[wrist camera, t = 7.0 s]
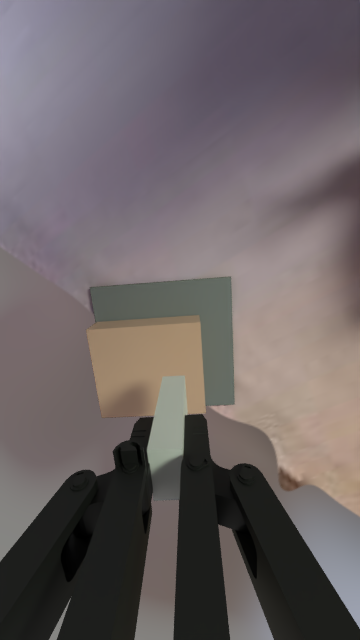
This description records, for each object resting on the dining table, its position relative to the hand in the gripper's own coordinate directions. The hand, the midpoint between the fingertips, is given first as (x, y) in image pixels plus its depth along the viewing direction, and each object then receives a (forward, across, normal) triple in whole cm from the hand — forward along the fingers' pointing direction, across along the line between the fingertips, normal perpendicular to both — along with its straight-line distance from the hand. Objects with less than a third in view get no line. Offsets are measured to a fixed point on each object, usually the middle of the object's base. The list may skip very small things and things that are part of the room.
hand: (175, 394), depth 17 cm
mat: (+6, -1, +1) cm, 7 cm away
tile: (+5, +2, 0) cm, 5 cm away
